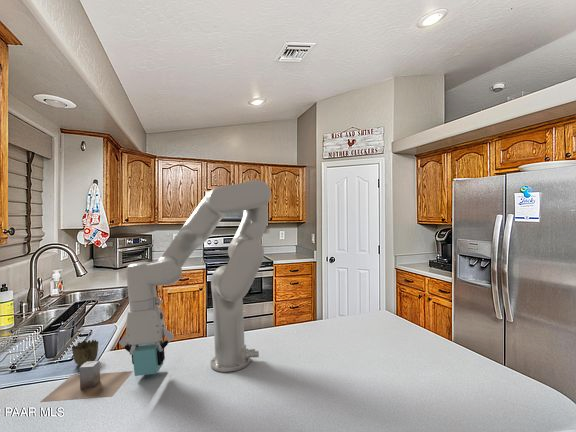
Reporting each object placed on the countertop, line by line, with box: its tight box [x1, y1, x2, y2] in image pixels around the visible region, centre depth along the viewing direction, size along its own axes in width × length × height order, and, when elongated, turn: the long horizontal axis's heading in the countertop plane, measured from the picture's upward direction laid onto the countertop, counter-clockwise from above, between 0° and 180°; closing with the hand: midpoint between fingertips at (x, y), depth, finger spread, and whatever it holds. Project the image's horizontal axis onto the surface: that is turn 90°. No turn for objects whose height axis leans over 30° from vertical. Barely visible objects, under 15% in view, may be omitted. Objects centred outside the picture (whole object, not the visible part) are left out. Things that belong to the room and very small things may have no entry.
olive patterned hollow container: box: [71, 339, 99, 366], centre depth 107 cm, size 8×7×8 cm
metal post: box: [78, 360, 101, 389], centre depth 92 cm, size 4×4×6 cm
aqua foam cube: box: [132, 343, 164, 377], centre depth 97 cm, size 6×6×7 cm
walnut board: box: [39, 370, 134, 403], centre depth 92 cm, size 18×14×2 cm
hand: (149, 364), depth 97 cm, fingers closed on aqua foam cube, 6 cm apart
